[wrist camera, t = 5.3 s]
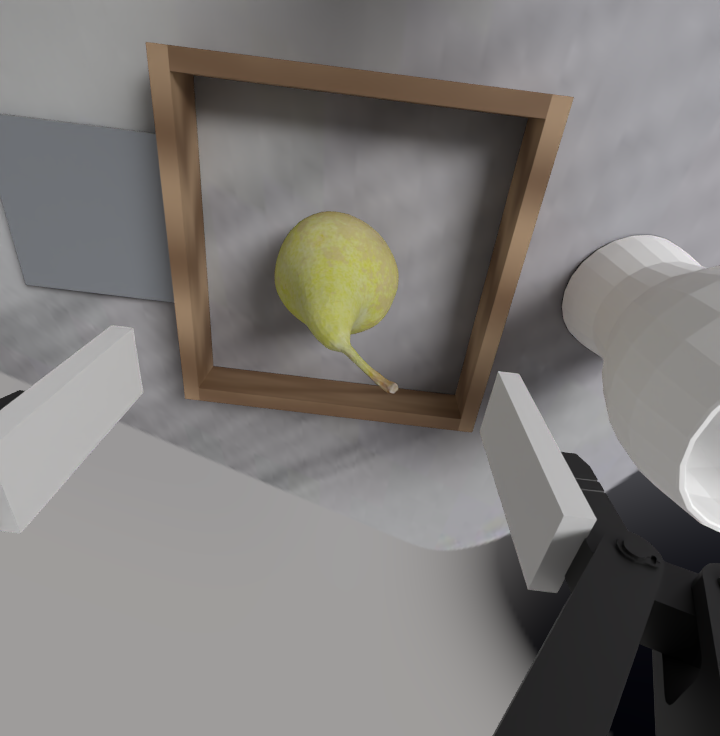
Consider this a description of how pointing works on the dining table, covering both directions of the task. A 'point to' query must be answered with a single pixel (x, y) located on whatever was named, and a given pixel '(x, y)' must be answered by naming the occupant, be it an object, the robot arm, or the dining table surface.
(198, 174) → the walnut frame
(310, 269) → the fruit
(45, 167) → the slate coaster
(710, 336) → the cup
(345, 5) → the dining table surface
